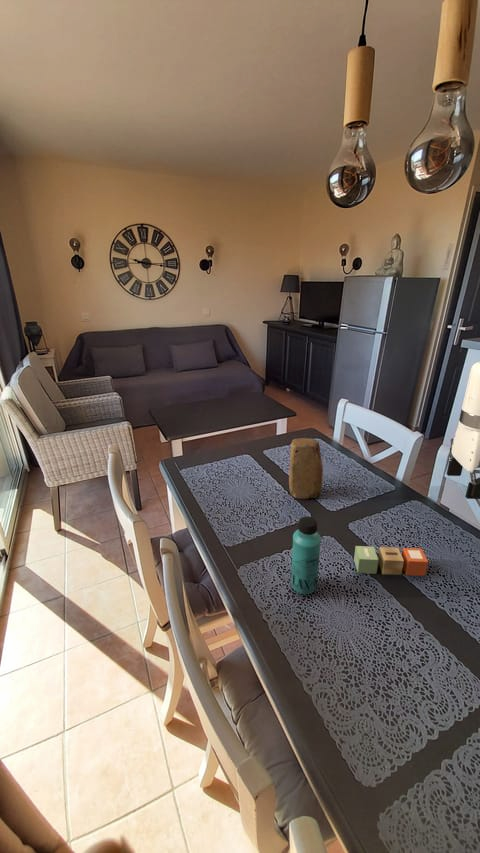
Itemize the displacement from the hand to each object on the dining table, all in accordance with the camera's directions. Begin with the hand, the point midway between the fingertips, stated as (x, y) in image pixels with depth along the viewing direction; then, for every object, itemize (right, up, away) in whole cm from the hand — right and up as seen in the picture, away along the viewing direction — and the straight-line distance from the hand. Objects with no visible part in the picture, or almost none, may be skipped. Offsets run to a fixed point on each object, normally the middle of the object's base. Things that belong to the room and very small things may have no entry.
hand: (462, 486), depth 85 cm
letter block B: (-21, -22, +7) cm, 31 cm away
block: (-31, -9, +38) cm, 49 cm away
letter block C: (-9, -22, +6) cm, 24 cm away
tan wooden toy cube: (-15, -22, +7) cm, 27 cm away
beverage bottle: (-37, -25, +2) cm, 45 cm away
